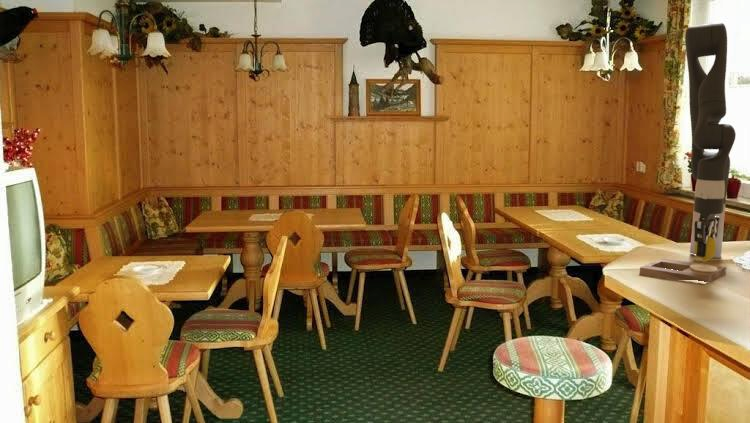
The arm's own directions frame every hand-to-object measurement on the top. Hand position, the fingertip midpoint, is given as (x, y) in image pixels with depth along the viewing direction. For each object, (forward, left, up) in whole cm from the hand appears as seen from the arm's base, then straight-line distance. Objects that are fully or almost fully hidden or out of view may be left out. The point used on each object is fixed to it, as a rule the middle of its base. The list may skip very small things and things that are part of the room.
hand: (704, 254), depth 211 cm
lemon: (0, 0, -2) cm, 2 cm away
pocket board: (+1, -5, -6) cm, 8 cm away
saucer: (0, 0, -4) cm, 4 cm away
